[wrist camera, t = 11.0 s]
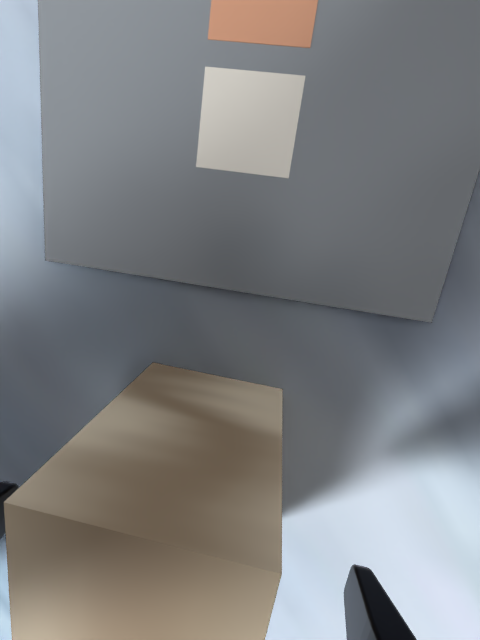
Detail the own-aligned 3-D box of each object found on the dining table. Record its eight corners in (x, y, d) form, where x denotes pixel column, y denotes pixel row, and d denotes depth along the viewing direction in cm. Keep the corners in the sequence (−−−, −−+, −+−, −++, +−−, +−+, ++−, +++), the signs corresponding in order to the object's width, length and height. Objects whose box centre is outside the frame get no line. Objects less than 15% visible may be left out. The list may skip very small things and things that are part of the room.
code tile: (49, 260, 10) (44, 260, 10) (36, -271, 7) (29, -287, 7) (428, 321, 9) (432, 322, 9) (614, -279, 6) (627, -299, 6)
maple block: (141, 500, 12) (17, 728, 7) (153, 361, 11) (3, 502, 5) (252, 528, 12) (224, 796, 6) (282, 388, 10) (282, 574, 5)
